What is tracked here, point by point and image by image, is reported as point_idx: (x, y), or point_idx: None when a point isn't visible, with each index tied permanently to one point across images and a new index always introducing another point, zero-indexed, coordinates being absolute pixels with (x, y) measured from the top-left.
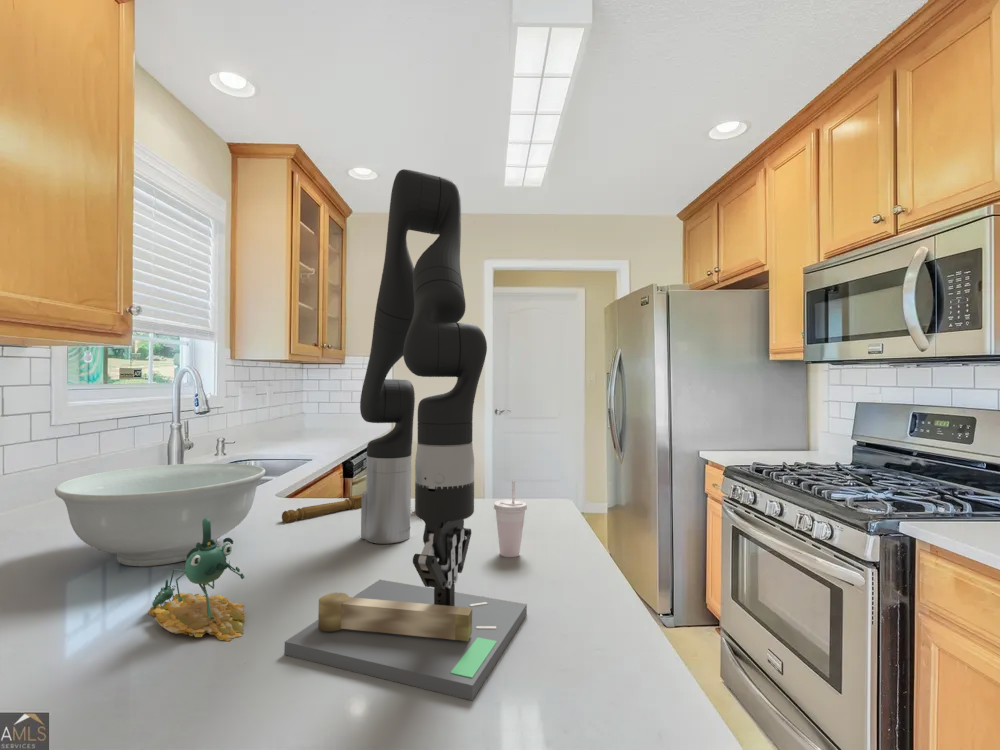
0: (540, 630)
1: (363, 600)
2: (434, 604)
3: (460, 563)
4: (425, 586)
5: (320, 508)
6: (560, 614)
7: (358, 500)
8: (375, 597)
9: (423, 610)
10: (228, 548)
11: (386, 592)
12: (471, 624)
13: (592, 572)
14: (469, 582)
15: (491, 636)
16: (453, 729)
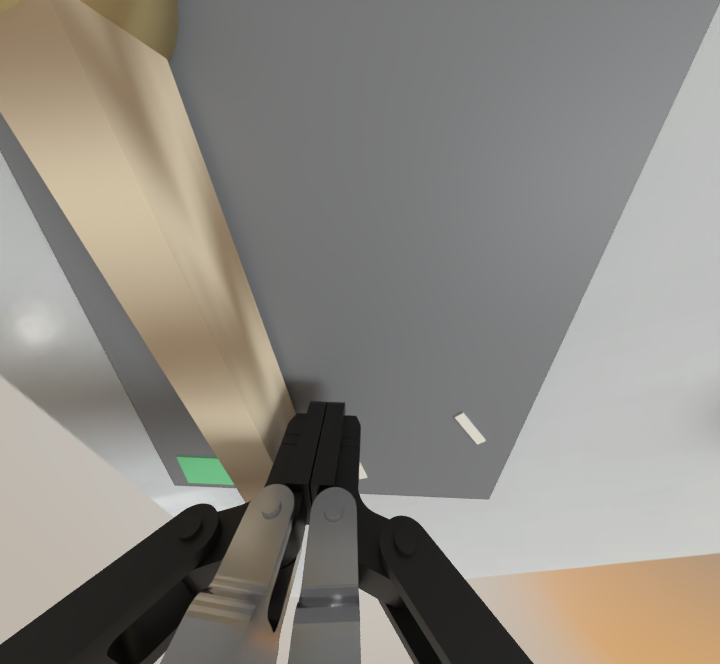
0: (422, 497)
1: (94, 149)
2: (304, 422)
3: (391, 620)
4: (189, 508)
5: None
6: (490, 512)
7: None
8: (477, 8)
9: (209, 435)
10: None
11: (550, 42)
12: None
13: (706, 535)
14: (710, 324)
15: None
16: (125, 459)
